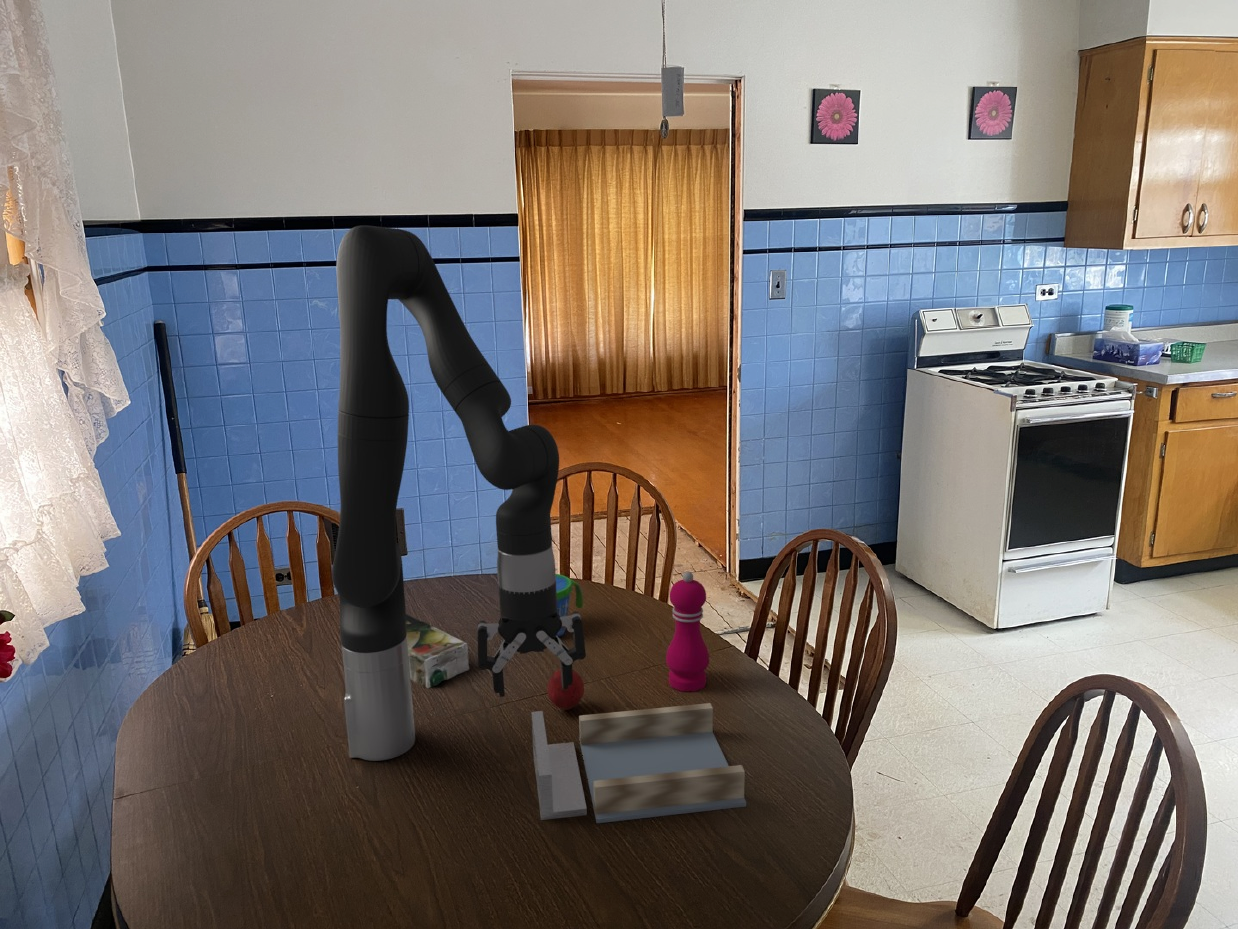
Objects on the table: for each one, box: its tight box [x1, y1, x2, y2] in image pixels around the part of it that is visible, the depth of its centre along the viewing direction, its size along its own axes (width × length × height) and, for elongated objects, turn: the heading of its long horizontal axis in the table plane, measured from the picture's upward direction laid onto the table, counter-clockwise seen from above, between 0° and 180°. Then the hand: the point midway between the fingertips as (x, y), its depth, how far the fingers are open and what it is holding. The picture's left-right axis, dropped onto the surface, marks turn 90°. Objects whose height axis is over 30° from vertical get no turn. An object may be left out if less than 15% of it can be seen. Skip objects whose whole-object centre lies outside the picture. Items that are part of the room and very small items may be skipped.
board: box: [578, 732, 747, 824], centre depth 127 cm, size 20×20×1 cm
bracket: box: [530, 710, 588, 821], centre depth 124 cm, size 16×6×7 cm, turn 9°
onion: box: [547, 668, 585, 711], centre depth 143 cm, size 6×6×8 cm
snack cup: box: [556, 573, 584, 637], centre depth 170 cm, size 16×10×10 cm
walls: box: [578, 702, 746, 815], centre depth 127 cm, size 20×18×4 cm
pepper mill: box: [665, 571, 710, 693], centre depth 149 cm, size 7×7×20 cm
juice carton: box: [406, 614, 470, 689], centre depth 160 cm, size 20×10×6 cm, turn 49°
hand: (533, 690), depth 121 cm, fingers open, 8 cm apart
